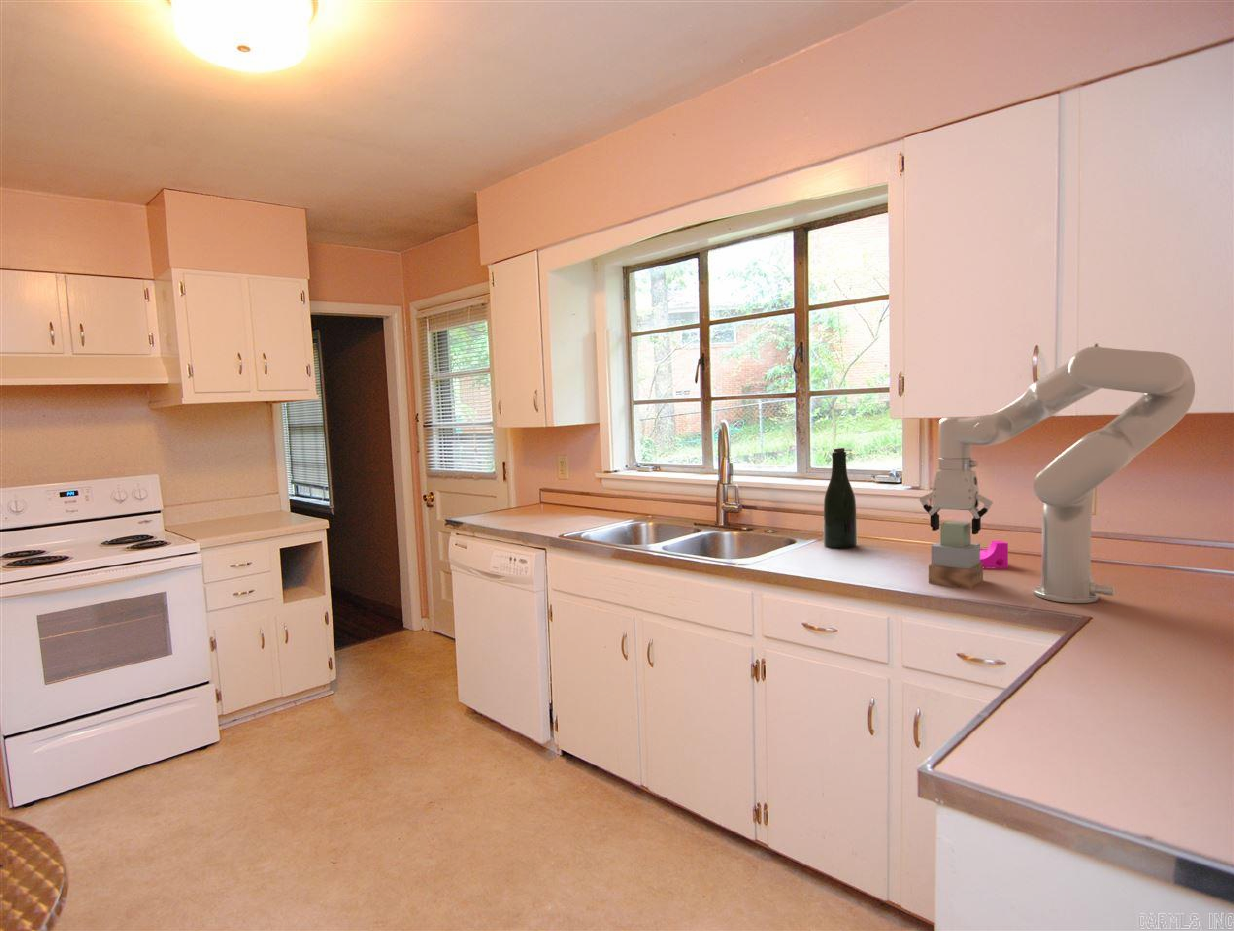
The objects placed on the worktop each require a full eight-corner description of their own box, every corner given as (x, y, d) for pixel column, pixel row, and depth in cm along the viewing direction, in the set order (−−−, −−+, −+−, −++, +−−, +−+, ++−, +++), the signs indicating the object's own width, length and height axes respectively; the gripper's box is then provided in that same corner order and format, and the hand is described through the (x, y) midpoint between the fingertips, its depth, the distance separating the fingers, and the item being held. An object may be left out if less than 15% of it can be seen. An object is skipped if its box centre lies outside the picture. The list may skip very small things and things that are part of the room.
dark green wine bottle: (824, 544, 227) (822, 447, 224) (857, 544, 223) (855, 446, 221) (823, 550, 217) (821, 449, 214) (857, 551, 213) (856, 448, 211)
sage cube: (970, 544, 172) (970, 522, 171) (963, 547, 168) (963, 525, 167) (947, 541, 175) (947, 521, 175) (940, 545, 171) (940, 524, 171)
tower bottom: (982, 581, 172) (982, 562, 172) (971, 589, 165) (971, 570, 165) (942, 576, 179) (941, 558, 179) (928, 584, 172) (928, 565, 172)
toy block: (998, 565, 189) (998, 539, 188) (1007, 570, 183) (1007, 543, 182) (942, 565, 191) (941, 539, 190) (949, 570, 185) (949, 543, 184)
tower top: (979, 562, 172) (979, 543, 172) (969, 569, 166) (969, 549, 165) (942, 558, 178) (942, 540, 178) (931, 564, 172) (931, 545, 171)
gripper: (996, 464, 167) (996, 532, 168) (924, 463, 179) (925, 526, 180) (988, 467, 161) (988, 537, 163) (914, 465, 173) (914, 530, 175)
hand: (955, 531), depth 171 cm, fingers open, 9 cm apart
